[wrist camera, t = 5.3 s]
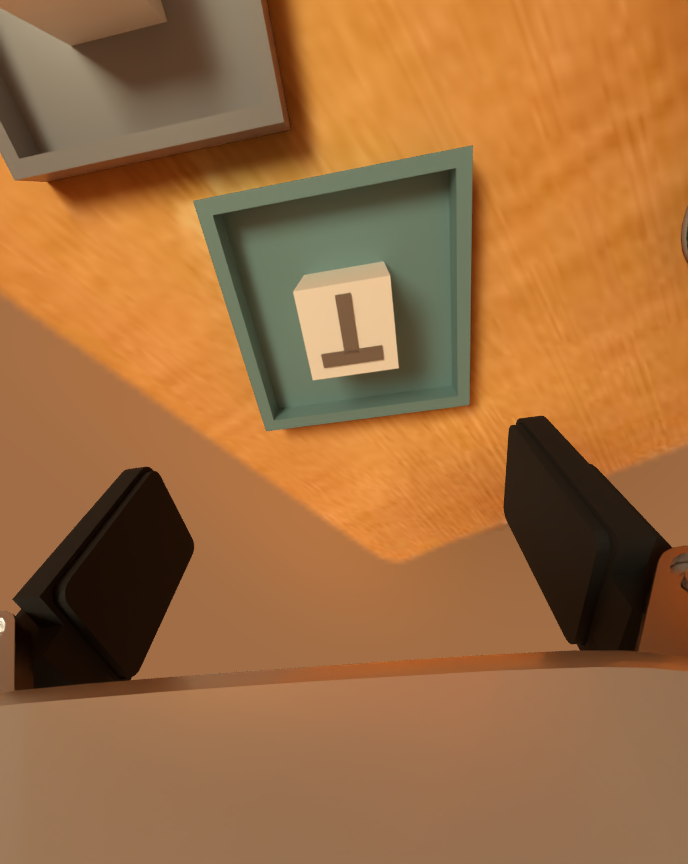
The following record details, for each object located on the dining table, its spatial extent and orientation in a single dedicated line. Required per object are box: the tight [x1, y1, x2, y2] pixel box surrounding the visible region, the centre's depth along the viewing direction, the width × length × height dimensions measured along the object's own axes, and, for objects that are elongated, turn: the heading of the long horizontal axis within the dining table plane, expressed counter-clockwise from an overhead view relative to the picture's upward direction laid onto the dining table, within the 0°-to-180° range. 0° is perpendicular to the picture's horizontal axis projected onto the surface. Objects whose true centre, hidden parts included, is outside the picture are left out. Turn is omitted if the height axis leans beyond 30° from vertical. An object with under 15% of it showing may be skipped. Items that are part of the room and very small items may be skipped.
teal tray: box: [193, 145, 473, 431], centre depth 24 cm, size 15×15×2 cm
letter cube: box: [293, 261, 399, 380], centre depth 23 cm, size 5×5×5 cm
